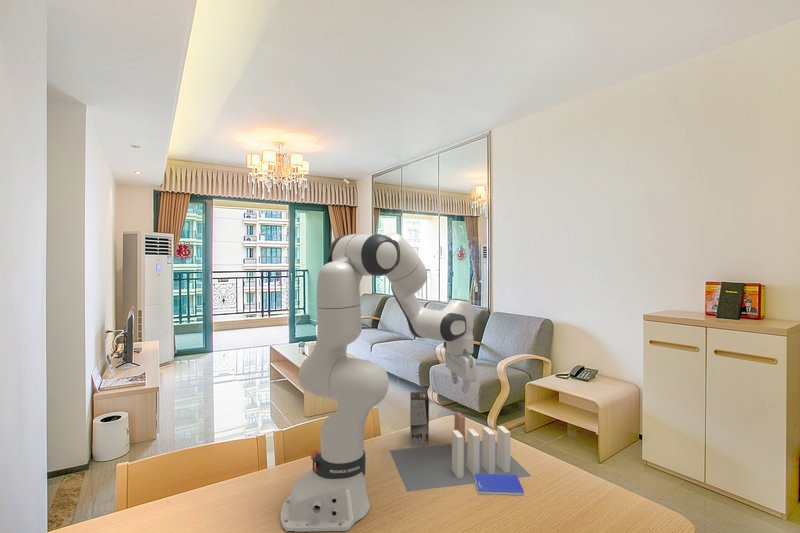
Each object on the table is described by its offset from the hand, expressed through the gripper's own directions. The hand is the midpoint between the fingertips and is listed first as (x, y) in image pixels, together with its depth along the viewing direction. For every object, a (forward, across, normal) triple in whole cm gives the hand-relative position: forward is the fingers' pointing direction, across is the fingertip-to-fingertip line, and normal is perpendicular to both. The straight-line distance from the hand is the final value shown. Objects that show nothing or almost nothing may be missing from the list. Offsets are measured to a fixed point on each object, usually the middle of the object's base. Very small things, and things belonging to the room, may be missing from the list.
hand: (460, 387), depth 136 cm
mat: (+21, -8, +4) cm, 23 cm away
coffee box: (+22, +11, +11) cm, 27 cm away
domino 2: (+21, -14, +1) cm, 25 cm away
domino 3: (+21, -14, -4) cm, 26 cm away
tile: (+21, 0, 0) cm, 21 cm away
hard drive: (+21, -23, -2) cm, 31 cm away
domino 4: (+21, -14, -9) cm, 27 cm away
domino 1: (+21, -14, +6) cm, 26 cm away
